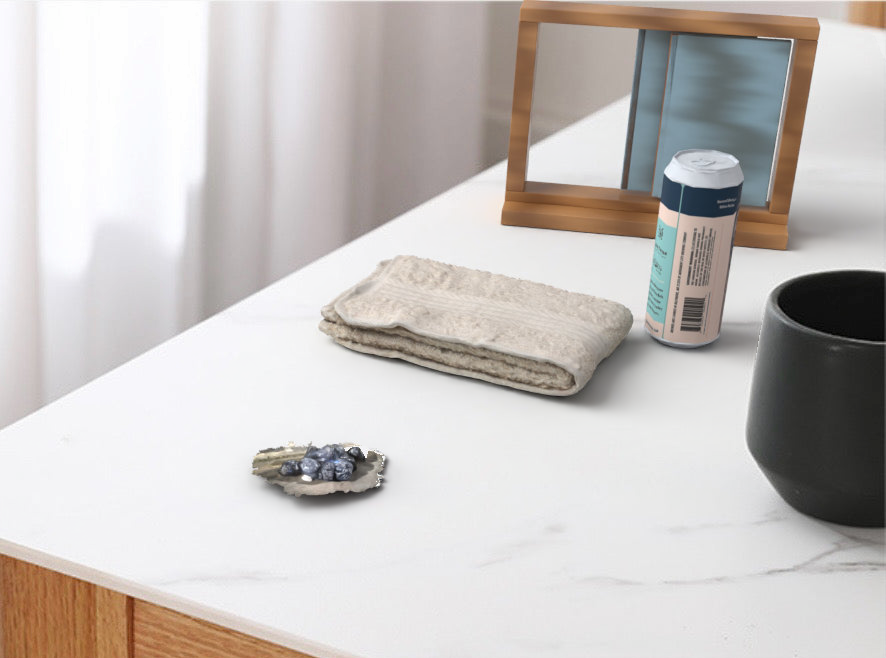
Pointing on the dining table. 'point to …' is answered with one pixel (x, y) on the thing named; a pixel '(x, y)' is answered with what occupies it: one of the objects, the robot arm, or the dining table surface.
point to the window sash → (646, 108)
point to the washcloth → (478, 324)
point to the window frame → (681, 117)
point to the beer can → (693, 247)
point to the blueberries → (319, 468)
